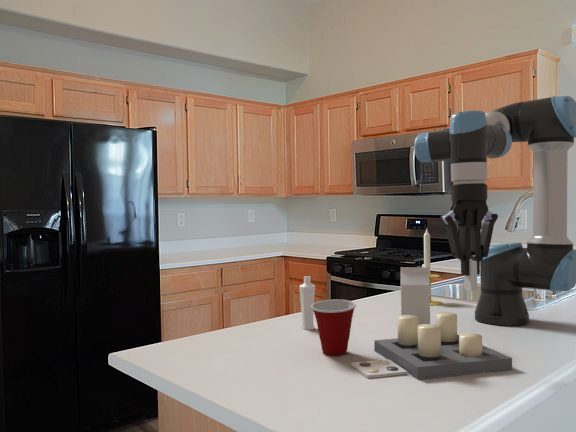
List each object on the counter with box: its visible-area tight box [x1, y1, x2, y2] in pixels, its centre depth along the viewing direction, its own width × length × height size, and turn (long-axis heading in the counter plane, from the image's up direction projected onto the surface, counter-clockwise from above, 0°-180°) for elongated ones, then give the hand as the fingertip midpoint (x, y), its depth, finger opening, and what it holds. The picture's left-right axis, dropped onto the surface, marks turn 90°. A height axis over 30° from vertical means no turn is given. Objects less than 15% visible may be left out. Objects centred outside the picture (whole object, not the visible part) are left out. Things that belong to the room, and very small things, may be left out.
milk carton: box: [400, 266, 431, 325], centre depth 136 cm, size 7×7×19 cm
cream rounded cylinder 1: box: [435, 311, 458, 342], centre depth 125 cm, size 5×5×6 cm
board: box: [373, 334, 513, 380], centre depth 119 cm, size 22×22×2 cm
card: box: [351, 359, 408, 379], centre depth 112 cm, size 9×9×1 cm
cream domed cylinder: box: [418, 323, 441, 357], centre depth 113 cm, size 5×5×6 cm
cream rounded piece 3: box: [397, 314, 419, 345], centre depth 123 cm, size 5×5×6 cm
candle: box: [423, 228, 443, 307], centre depth 186 cm, size 10×10×27 cm
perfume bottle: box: [298, 275, 316, 331], centre depth 151 cm, size 5×4×15 cm
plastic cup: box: [311, 298, 357, 357], centre depth 126 cm, size 11×11×12 cm
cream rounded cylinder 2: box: [458, 332, 483, 358], centre depth 115 cm, size 5×5×6 cm
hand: (470, 289), depth 115 cm, fingers closed
